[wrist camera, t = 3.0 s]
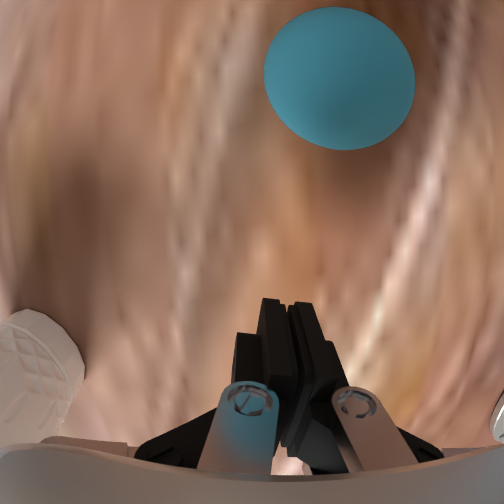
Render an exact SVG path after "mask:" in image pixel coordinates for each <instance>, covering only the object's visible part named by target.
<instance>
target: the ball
mask: <svg viewBox="0 0 504 504" xmlns="http://www.w3.org/2000/svg"><path fill="white" fill-rule="evenodd" d="M264 83H265V87H266V92H267V95H268V98H269V100H270V103H271V105H272V107H273V109H274V110H275V112H276V113H277V115H278V116H279V118H280V119H281V120H282V121H283V122H284V124H285V125H286V126H287V127H289V128H290V129H291V130H292V131H293V132H294V133H296V134H297V135H299V136H300V137H301V138H303V139H305V140H307V141H309V142H311V143H314V144H316V145H319V146H322V147H325V148H329V149H336V150H354V149H361V148H365V147H369V146H372V145H374V144H377V143H379V142H381V141H382V140H384V139H386V138H387V137H389V136H390V135H391V134H392V133H393V132H395V131H396V130H397V129H398V128H399V126H400V125H401V124H402V123H403V121H404V120H405V118H406V117H407V115H408V113H409V111H410V109H411V106H412V103H413V100H414V94H415V74H414V68H413V64H412V61H411V59H410V56H409V54H408V52H407V50H406V48H405V46H404V45H403V43H402V42H401V40H400V39H399V38H398V37H397V35H396V34H395V33H394V32H393V31H392V30H391V29H390V28H389V27H387V26H386V25H385V24H384V23H382V22H381V21H379V20H378V19H376V18H374V17H373V16H371V15H368V14H366V13H364V12H361V11H358V10H354V9H350V8H343V7H324V8H318V9H314V10H311V11H308V12H305V13H303V14H301V15H299V16H297V17H295V18H294V19H292V20H291V21H289V22H288V23H287V24H286V25H285V26H284V27H283V28H282V29H281V30H280V31H279V32H278V33H277V35H276V36H275V37H274V39H273V41H272V42H271V44H270V47H269V49H268V52H267V55H266V59H265V63H264Z"/></svg>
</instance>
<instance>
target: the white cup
mask: <svg viewBox="0 0 504 504" xmlns="http://www.w3.org/2000/svg"><path fill="white" fill-rule="evenodd" d="M84 372H85V365H84V362H83V360H82V357H81V355H80V352H79V350H78V347H77V346H76V344H75V343H74V342H73V340H72V339H71V338H70V337H69V335H68V334H67V333H66V331H65V330H64V329H63V328H62V327H61V326H60V325H58V324H57V323H56V322H54V321H53V320H52V319H51V318H49V317H48V316H47V315H45V314H43V313H40V312H37V311H33V310H30V309H25V310H21V311H18V312H15V313H13V314H12V315H10V316H9V317H8V318H6V319H5V320H4V321H2V322H1V323H0V448H2V447H5V446H9V445H13V444H21V443H39V442H41V441H42V440H43V439H45V438H48V437H51V436H57V434H58V432H59V429H60V427H61V425H62V424H63V422H64V420H65V418H66V416H67V413H68V411H69V408H70V405H71V403H72V401H73V400H74V398H75V396H76V395H77V393H78V391H79V389H80V388H81V386H82V384H83V382H84Z"/></svg>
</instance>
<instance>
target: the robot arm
mask: <svg viewBox="0 0 504 504" xmlns="http://www.w3.org/2000/svg"><path fill="white" fill-rule="evenodd" d="M490 432H491V433H492V435H493V437H494V439H495V440H496V441H499V442H503V443H500V444H496V445H492V446H488V447H481V448H442V449H441V450H439V449H438V448H436V447H435V446H433V445H432V444H430V443H428V442H426V441H424V440H422V439H420V438H418V437H416V436H414V435H412V434H410V433H408V432H406V431H404V430H402V429H401V428H399V427H397V426H396V425H395V424H394V422H393V421H392V419H391V418H390V416H389V414H388V413H387V411H386V410H385V408H384V407H383V405H382V403H381V402H380V400H379V399H378V398H377V397H376V396H375V395H374V394H373V393H371V392H370V391H368V390H365V389H363V388H359V387H351V386H349V384H348V381H347V378H346V376H345V373H344V370H343V368H342V365H341V362H340V360H339V357H338V354H337V352H336V349H335V347H334V344H333V342H332V341H326V340H325V338H324V335H323V333H322V330H321V327H320V324H319V321H318V319H317V316H316V313H315V310H314V308H313V305H312V303H306V302H295V303H294V305H289V306H288V310H287V312H286V307H285V304H280V301H279V300H278V299H269V298H263V299H262V304H261V310H260V315H259V321H258V327H257V332H256V334H248V333H240V332H237V336H236V342H235V349H234V357H233V365H232V377H231V384H230V385H229V386H228V387H226V388H225V389H224V391H223V393H222V395H221V398H220V401H219V404H218V407H217V408H215V409H213V410H211V411H209V412H207V413H205V414H203V415H201V416H199V417H197V418H195V419H193V420H191V421H189V422H187V423H185V424H183V425H181V426H179V427H177V428H175V429H173V430H171V431H168V432H166V433H164V434H162V435H160V436H158V437H155V438H153V439H151V440H149V441H147V442H145V443H144V444H142V445H141V446H140V447H129V446H128V445H127V443H123V442H108V441H96V440H87V439H78V438H70V437H63V436H51V437H48V438H45V439H43V440H42V441H41V442H39V443H21V444H13V445H9V446H5V447H2V448H0V504H504V393H503V395H502V396H501V398H500V400H499V401H498V403H497V405H496V407H495V409H494V412H493V414H492V417H491V421H490ZM279 442H280V443H281V447H287V456H288V457H297V458H299V459H300V460H302V461H303V465H302V468H303V473H304V475H270V474H271V467H272V459H273V457H274V456H275V453H276V450H277V447H278V444H279Z"/></svg>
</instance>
